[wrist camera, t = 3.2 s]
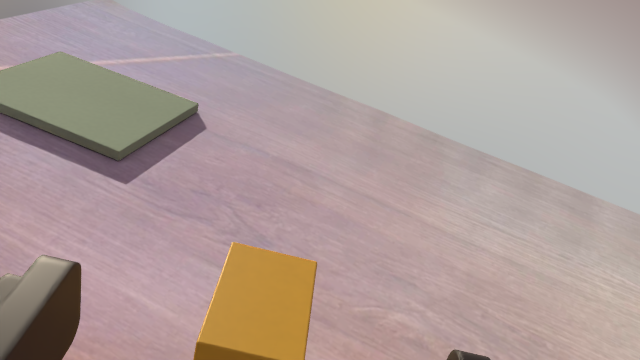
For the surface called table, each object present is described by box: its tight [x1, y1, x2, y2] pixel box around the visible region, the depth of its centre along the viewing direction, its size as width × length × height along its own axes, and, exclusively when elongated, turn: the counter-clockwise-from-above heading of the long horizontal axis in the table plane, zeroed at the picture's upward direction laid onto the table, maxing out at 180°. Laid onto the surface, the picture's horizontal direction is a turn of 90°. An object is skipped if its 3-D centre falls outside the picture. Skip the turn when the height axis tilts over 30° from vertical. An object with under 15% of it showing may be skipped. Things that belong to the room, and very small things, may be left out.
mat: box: [0, 52, 198, 161], centre depth 59 cm, size 18×14×1 cm
